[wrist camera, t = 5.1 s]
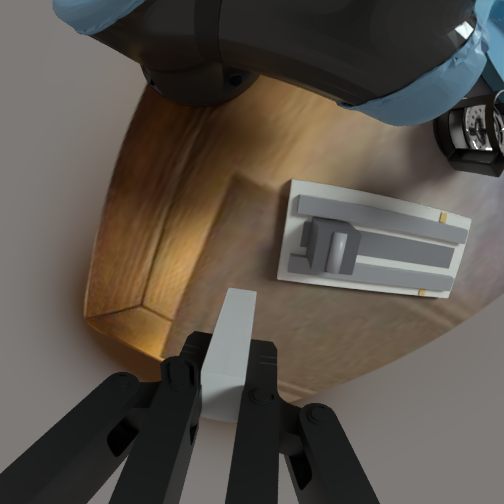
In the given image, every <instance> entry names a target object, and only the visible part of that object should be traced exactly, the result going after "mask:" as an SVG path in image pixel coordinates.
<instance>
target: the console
mask: <svg viewBox="0 0 504 504" xmlns="http://www.w3.org/2000/svg"><path fill="white" fill-rule="evenodd" d="M312 217H316V218H323V219H329V220H335V221H341V222H347V223H350V224H351V225H352V226H353V227H354V228H355V229H357V230H358V231H359V232H360V233H361V234H362V236H361V240H360V245H359V249H358V253H357V257H356V262H355V266H354V270H353V274H352V275H344V274H332V273H329V272H321V271H313V270H311V269H310V266H309V262H308V259H307V256H306V250H307V244H308V239H309V233H310V227H311V221H312ZM470 224H471V219H469V218H467V217H464V216H461V215H457V214H454V213H450V212H447V211H443V210H440V209H436V208H432V207H429V206H425V205H421V204H417V203H413V202H409V201H405V200H401V199H396V198H392V197H388V196H383V195H379V194H374V193H369V192H365V191H360V190H355V189H350V188H344V187H339V186H334V185H328V184H322V183H316V182H310V181H304V180H298V179H291V186H290V193H289V200H288V207H287V213H286V220H285V227H284V233H283V240H282V246H281V253H280V259H279V265H278V271H277V279H279V280H286V281H294V282H302V283H310V284H318V285H326V286H335V287H343V288H352V289H361V290H370V291H379V292H389V293H399V294H409V295H419V296H430V297H441V298H448V297H449V294H450V291H451V288H452V286H453V283H454V280H455V277H456V274H457V271H458V268H459V265H460V261H461V258H462V255H463V251H464V248H465V244H466V240H467V236H468V232H469V228H470Z"/></svg>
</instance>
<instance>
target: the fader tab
mask: <svg viewBox="0 0 504 504" xmlns="http://www.w3.org/2000/svg"><path fill="white" fill-rule="evenodd" d="M361 236H362V234H361V233H360V232H359V231H358V230H357V229H355V228H354V227H353V226H352V225H351V224H350V223H347V222H341V221H335V220H329V219H323V218H316V217H312V221H311V227H310V233H309V239H308V244H307V250H306V256H307V259H308V262H309V266H310V269H311V270H313V271H321V272H329V273H332V274H344V275H352V274H353V270H354V266H355V262H356V257H357V253H358V249H359V245H360V240H361Z"/></svg>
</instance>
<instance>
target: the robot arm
mask: <svg viewBox="0 0 504 504" xmlns="http://www.w3.org/2000/svg"><path fill="white" fill-rule="evenodd" d="M475 2H476V0H53V10H54V12H55V14H56V15H57V17H58V18H60V19H61V20H63V21H64V22H66V23H67V24H68V25H70V26H71V27H73V28H74V29H75V31H77V33H79V34H84V35H88V36H90V37H92V38H94V39H96V40H98V41H99V42H101V43H103V44H105V45H107V46H109V47H111V48H113V49H114V50H116V51H118V52H120V53H121V54H123V55H125V56H127V57H128V58H130V59H132V60H134V61H135V62H137V63H139V64H140V66H141V68H142V71H143V74H144V76H145V78H146V80H147V82H148V83H149V85H150V86H151V87H152V88H153V89H154V90H155V91H156V92H157V93H159V94H160V95H161V96H163V97H165V98H167V99H169V100H171V101H173V102H175V103H178V104H181V105H185V106H191V107H205V106H212V105H216V104H220V103H223V102H226V101H228V100H230V99H232V98H234V97H236V96H238V95H240V94H241V93H243V92H244V91H245V90H246V89H248V88H249V87H250V86H251V85H252V84H253V83H254V82H255V81H256V79H257V78H258V77H259V75H263V76H267V77H270V78H273V79H276V80H279V81H282V82H285V83H288V84H291V85H294V86H297V87H300V88H302V89H305V90H308V91H310V92H313V93H315V94H318V95H320V96H323V97H325V98H328V99H330V100H332V101H335V102H336V103H337V105H338V106H340V107H342V108H344V109H348V110H356V111H359V112H362V113H364V114H366V115H369V116H371V117H373V118H375V119H377V120H379V121H382V122H384V123H386V124H389V125H393V126H404V125H406V126H409V125H410V126H414V125H419V124H422V123H425V122H428V121H430V120H433V119H435V118H437V117H438V116H440V115H442V114H443V113H445V112H446V111H448V110H449V109H451V108H452V107H453V106H454V105H456V104H457V103H458V102H459V101H460V100H461V99H462V98H463V97H464V96H465V95H466V94H467V93H468V92H469V91H470V90H471V88H472V87H473V86H474V84H475V83H476V82H477V80H478V78H479V77H480V75H481V73H482V71H483V69H484V67H485V65H486V62H487V59H486V56H485V54H484V53H486V52H487V51H488V50H489V49H490V36H489V32H488V29H487V27H486V25H485V24H484V22H483V21H482V18H481V17H480V15H479V14H478V13H477V12H476V11H475V10H473V9H472V8H473V6H474V4H475ZM256 294H257V292H256V291H248V290H241V289H234V288H229V289H228V292H227V295H226V298H225V301H224V304H223V306H222V309H221V312H220V315H219V318H218V321H217V324H216V327H215V330H214V333H213V334H209V333H204V332H198V331H194V332H193V333H192V334H190V335H189V336H188V337H187V339H186V341H185V344H184V346H183V348H182V351H181V352H180V355H179V356H173V357H169V358H167V359H165V360H164V361H163V362H162V363H161V364H160V365H161V375H162V381H159V382H150V383H149V382H146V383H145V382H139V380H138V379H137V377H135V376H134V375H133V374H130V373H127V372H118V373H114V374H112V375H111V376H109V377H108V378H107V379H106V380H104V381H103V382H102V383H101V384H100V385H99V386H98V387H97V388H95V389H94V390H93V391H92V392H91V393H90V394H89V395H88V396H87V397H85V398H84V399H83V400H82V401H81V402H80V403H79V404H78V405H76V406H75V407H74V408H73V409H72V410H71V411H70V412H69V413H67V414H66V415H65V416H64V417H63V418H62V419H61V420H60V421H59V422H57V423H56V424H55V425H54V426H53V427H52V428H51V429H50V430H48V432H46V433H45V434H44V435H43V436H42V437H41V438H40V439H39V440H37V441H36V442H35V443H34V444H33V445H32V446H31V447H30V448H28V449H27V450H26V451H25V452H24V453H23V454H22V455H21V456H20V457H18V458H17V459H16V460H15V461H14V462H13V463H12V464H11V465H10V466H8V467H7V468H6V469H5V470H4V471H3V472H2V473H1V474H0V504H87V503H88V501H89V500H90V499H91V498H92V497H93V496H94V495H95V493H96V492H97V491H98V490H99V489H100V488H101V487H102V485H103V484H104V483H105V482H106V481H107V480H108V478H109V477H110V476H111V475H112V474H113V472H114V471H115V470H116V469H117V468H118V467H119V465H120V464H121V463H122V462H123V461H124V459H125V458H126V457H127V456H128V455H129V456H128V458H127V461H126V463H125V465H124V467H123V470H122V472H121V474H120V477H119V479H118V482H117V484H116V486H115V489H114V491H113V494H112V496H111V499H110V501H109V504H179V501H180V497H181V493H182V489H183V485H184V482H185V477H186V474H187V470H188V466H189V463H190V459H191V455H192V451H193V447H194V444H195V440H196V436H197V432H198V429H199V417H200V414H201V417H203V418H208V419H214V420H220V421H227V422H233V423H237V429H236V436H235V442H234V449H233V455H232V461H231V468H230V474H229V481H228V487H227V493H226V499H225V504H277V503H278V471H279V453H281V454H284V457H285V460H286V464H287V467H288V470H289V473H290V477H291V480H292V483H293V486H294V489H295V493H296V496H297V498H298V502H299V504H380V503H379V501H378V499H377V497H376V495H375V493H374V491H373V489H372V487H371V485H370V482H369V480H368V478H367V476H366V474H365V473H364V470H363V468H362V467H361V464H360V462H359V460H358V458H357V456H356V454H355V453H354V450H353V448H352V446H351V444H350V442H349V440H348V438H347V436H346V434H345V432H344V430H343V428H342V426H341V424H340V422H339V420H338V418H337V416H336V414H335V413H334V411H333V410H332V409H331V408H330V407H328V406H326V405H324V404H320V403H311V404H307V405H305V406H304V407H303V408H300V407H297V406H294V405H291V404H289V403H287V402H286V401H284V400H283V399H282V398H281V397H280V396H279V394H278V391H277V348H276V347H275V345H274V343H273V342H270V341H262V340H254V339H251V333H252V325H253V317H254V309H255V302H256Z"/></svg>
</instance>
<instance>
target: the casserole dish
mask: <svg viewBox="0 0 504 504" xmlns="http://www.w3.org/2000/svg"><path fill="white" fill-rule="evenodd" d="M473 10H475V11H476V12H477V13H478V14H479V15H480V17H481V18H482V21H483V22H484V24H485V25H486V27H487V29H488V32H489V36H490V49H489V50H488V51H487V52H486V53H484V54H485V56H486V59H487V62H486V65H485V67H484V69H483V71H482V73H481V75H482V76H483V78H484V79H485V81H486V82H487V84H488V85H489V86H490V88H491V89H492V91H493V92H494V91H498V90H504V0H476V2H475V4H474V9H473ZM498 99H499V100H500V101H501V103H504V93H502V92H501V93H500V94H499V95H498Z"/></svg>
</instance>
